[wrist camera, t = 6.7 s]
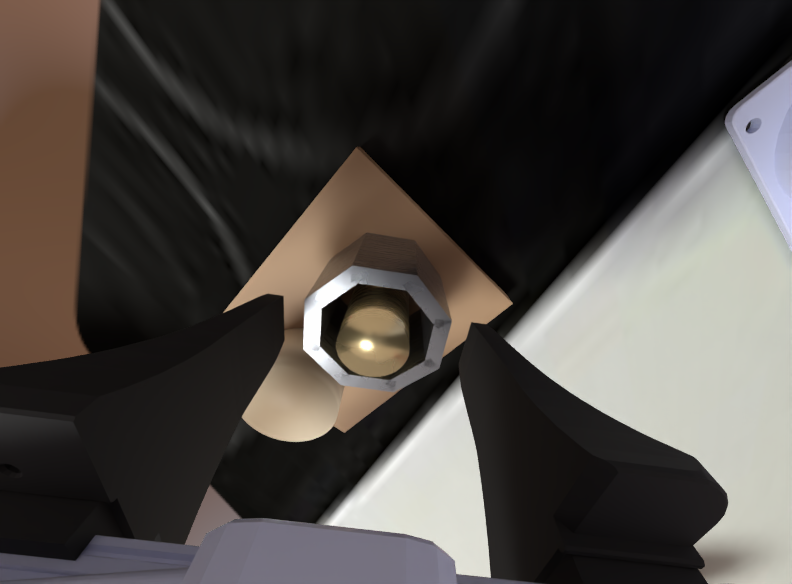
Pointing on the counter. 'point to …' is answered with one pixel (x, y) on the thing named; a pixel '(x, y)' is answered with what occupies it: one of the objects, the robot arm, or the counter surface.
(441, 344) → the ring
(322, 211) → the board
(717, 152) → the counter surface
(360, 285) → the brass post
